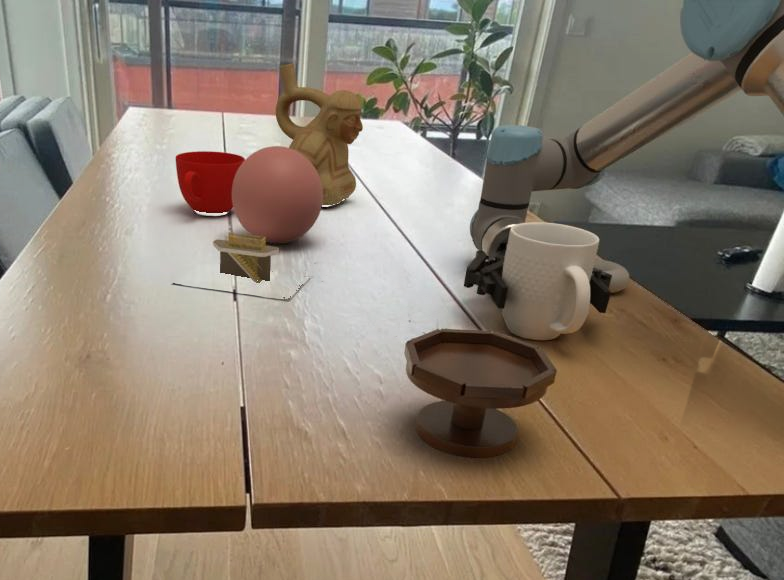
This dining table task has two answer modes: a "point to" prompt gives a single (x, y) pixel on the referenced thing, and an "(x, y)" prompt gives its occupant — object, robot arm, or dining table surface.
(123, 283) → the dining table surface
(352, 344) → the dining table surface
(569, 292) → the mug
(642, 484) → the dining table surface
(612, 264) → the donut
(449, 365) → the cake stand
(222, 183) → the ceramic cup
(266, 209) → the pink ball
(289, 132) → the ceramic vessel
